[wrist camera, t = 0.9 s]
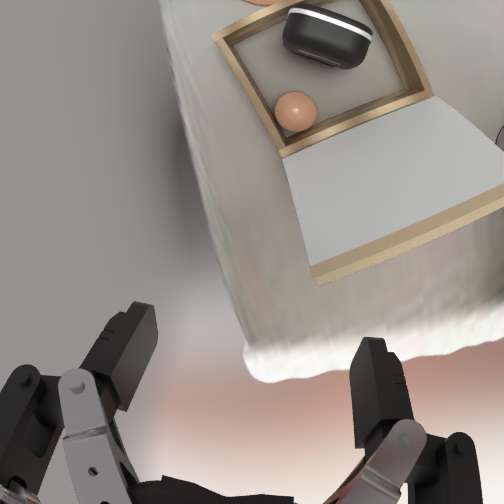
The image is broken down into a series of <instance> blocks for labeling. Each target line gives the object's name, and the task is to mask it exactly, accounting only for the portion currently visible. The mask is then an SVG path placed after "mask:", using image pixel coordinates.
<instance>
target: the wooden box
mask: <svg viewBox="0 0 504 504" xmlns="http://www.w3.org/2000/svg"><path fill="white" fill-rule="evenodd" d="M334 1H337V0H282V1H280V2H278V3H275V4H273V5H271V6H268V7H266V8H264V9H262V10H259V11H257V12H255V13H253V14H251V15H249V16H247V17H245V18H243V19H241V20H239V21H237V22H235V23H233V24H231V25H229V26H227V27H225V28H223V29H222V30H220V31H218V32H216V33H214V34H212V35H211V36H212V38H213V40H214V41H215V43H216V44H217V46H218V47H219V49H220V51H221V52H222V54H223V55H224V57H225V59H226V60H227V62H228V64H229V65H230V67H231V68H232V70H233V72H234V73H235V75H236V77H237V78H238V80H239V82H240V83H241V85H242V87H243V89H244V90H245V92H246V94H247V95H248V97H249V99H250V101H251V102H252V104H253V106H254V108H255V109H256V111H257V113H258V115H259V116H260V118H261V120H262V122H263V124H264V125H265V127H266V129H267V131H268V133H269V134H270V136H271V138H272V140H273V142H274V144H275V146H276V147H277V149H278V151H279V153H280V155H281V157H282V158H283V157H285V156H288V155H290V154H292V153H294V152H296V151H298V150H301V149H303V148H305V147H307V146H310V145H312V144H314V143H316V142H319V141H321V140H323V139H325V138H328V137H330V136H332V135H335V134H337V133H339V132H342V131H344V130H346V129H349V128H351V127H354V126H356V125H358V124H361V123H363V122H366V121H368V120H371V119H373V118H376V117H378V116H381V115H383V114H386V113H389V112H391V111H394V110H396V109H399V108H402V107H404V106H407V105H410V104H413V103H415V102H418V101H421V100H424V99H427V98H429V97H432V96H434V94H433V92H432V89H431V86H430V84H429V81H428V79H427V77H426V74H425V72H424V69H423V67H422V65H421V63H420V60H419V58H418V56H417V54H416V52H415V49H414V47H413V45H412V43H411V41H410V39H409V37H408V35H407V33H406V31H405V29H404V28H403V26H402V24H401V22H400V20H399V18H398V16H397V15H396V13H395V11H394V9H393V8H392V6H391V4H390V3H389V1H388V0H360V2H361V3H362V5H363V7H364V8H365V10H366V12H367V13H368V15H369V17H370V18H371V20H372V22H373V24H374V26H375V27H376V29H377V31H378V33H379V35H380V36H381V38H382V40H383V42H384V44H385V46H386V48H387V50H388V52H389V54H390V56H391V58H392V60H393V62H394V64H395V66H396V69H397V71H398V73H399V75H400V77H401V80H402V82H403V84H404V87H405V89H404V90H401V91H399V92H396V93H393V94H390V95H388V96H385V97H382V98H380V99H377V100H375V101H372V102H369V103H367V104H364V105H362V106H359V107H357V108H354V109H352V110H349V111H347V112H345V113H342V114H340V115H337V116H335V117H333V118H330V119H328V120H326V121H323V122H321V123H319V124H316V125H314V126H312V127H310V128H308V129H306V130H303V131H301V132H299V133H297V134H294V135H292V136H290V137H288V138H285V136H284V134H283V132H282V130H281V128H280V126H279V124H278V123H277V121H276V119H275V117H274V115H273V113H272V112H271V110H270V108H269V106H268V105H267V103H266V101H265V99H264V97H263V96H262V94H261V92H260V90H259V89H258V87H257V85H256V84H255V82H254V80H253V78H252V77H251V75H250V73H249V72H248V70H247V68H246V67H245V65H244V63H243V62H242V60H241V58H240V57H239V55H238V54H237V52H236V50H235V49H234V47H233V46H232V45H234V44H236V43H237V42H239V41H241V40H243V39H245V38H247V37H249V36H251V35H253V34H255V33H257V32H260V31H262V30H264V29H266V28H268V27H270V26H273V25H275V24H277V23H279V22H282V21H284V20H286V19H287V17H288V13H289V10H290V9H291V8H292V6H293V5H294V4H296V3H306V4H311V5H314V6H318V7H320V6H322V5H325V4H328V3H331V2H334Z"/></svg>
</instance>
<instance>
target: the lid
mask: <svg viewBox="0 0 504 504" xmlns="http://www.w3.org/2000/svg"><path fill="white" fill-rule="evenodd" d="M282 161H283V164H284V168H285V171H286V175H287V178H288V182H289V186H290V189H291V193H292V197H293V201H294V204H295V208H296V212H297V216H298V220H299V224H300V228H301V232H302V236H303V240H304V244H305V248H306V252H307V256H308V260H309V264H310V269H311V273H312V277H313V280H314V281H315V283H316V284H317V286H321V285H324V284H326V283H329V282H332V281H334V280H337V279H339V278H342V277H345V276H347V275H350V274H352V273H355V272H357V271H360V270H362V269H365V268H367V267H370V266H372V265H375V264H377V263H380V262H382V261H385V260H387V259H389V258H392V257H394V256H397V255H399V254H401V253H404V252H406V251H408V250H411V249H413V248H415V247H418V246H420V245H422V244H425V243H427V242H429V241H431V240H434V239H436V238H438V237H440V236H443V235H445V234H447V233H449V232H451V231H454V230H456V229H458V228H460V227H462V226H465V225H467V224H469V223H471V222H473V221H475V220H477V219H479V218H481V217H484V216H486V215H488V214H490V213H492V212H494V211H496V210H498V209H500V208H502V207H504V152H503V151H502V150H501V149H500V148H499V147H498V146H497V145H496V144H494V143H493V142H492V141H491V140H490V139H489V138H488V137H487V136H486V135H485V134H483V133H482V132H481V131H480V130H479V129H478V128H476V127H475V126H474V125H473V124H472V123H471V122H469V121H468V120H467V119H466V118H464V117H463V116H462V115H461V114H459V113H458V112H457V111H456V110H454V109H453V108H452V107H450V106H449V105H448V104H446V103H445V102H444V101H442V100H441V99H440V98H438V97H437V96H435V97H432V98H429V99H427V100H424V101H421V102H418V103H415V104H413V105H410V106H407V107H405V108H402V109H399V110H397V111H394V112H391V113H389V114H386V115H384V116H381V117H379V118H376V119H374V120H371V121H369V122H366V123H364V124H361V125H359V126H356V127H354V128H351V129H349V130H347V131H344V132H342V133H340V134H337V135H335V136H333V137H330V138H328V139H326V140H323V141H321V142H319V143H317V144H314V145H312V146H310V147H308V148H305V149H303V150H301V151H299V152H297V153H294V154H292V155H290V156H288V157H286V158H284V159H282Z"/></svg>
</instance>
